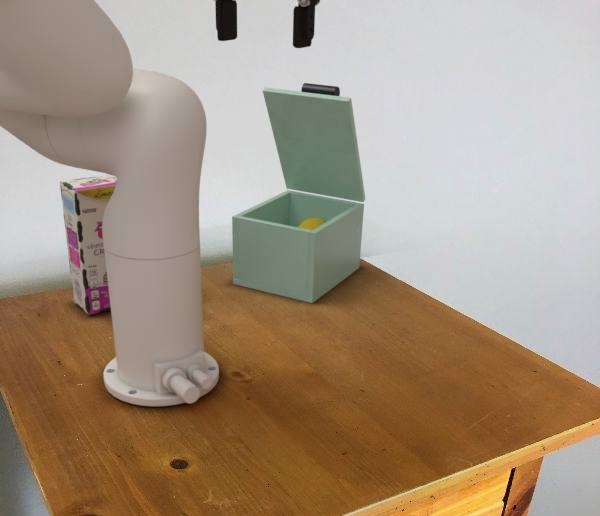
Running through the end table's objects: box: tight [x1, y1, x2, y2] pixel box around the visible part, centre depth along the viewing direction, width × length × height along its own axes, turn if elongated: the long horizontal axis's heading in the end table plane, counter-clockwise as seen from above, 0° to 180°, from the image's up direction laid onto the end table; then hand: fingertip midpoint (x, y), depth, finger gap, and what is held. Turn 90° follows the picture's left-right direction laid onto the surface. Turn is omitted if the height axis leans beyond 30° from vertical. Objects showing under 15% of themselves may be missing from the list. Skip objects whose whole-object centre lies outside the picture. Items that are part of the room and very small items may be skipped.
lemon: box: [298, 218, 326, 230], centre depth 111 cm, size 6×6×8 cm
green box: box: [231, 189, 365, 304], centre depth 108 cm, size 16×13×10 cm
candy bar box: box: [59, 174, 117, 316], centre depth 97 cm, size 11×5×16 cm, turn 128°
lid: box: [262, 82, 366, 203], centre depth 106 cm, size 17×13×5 cm
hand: (264, 43), depth 84 cm, fingers open, 9 cm apart
